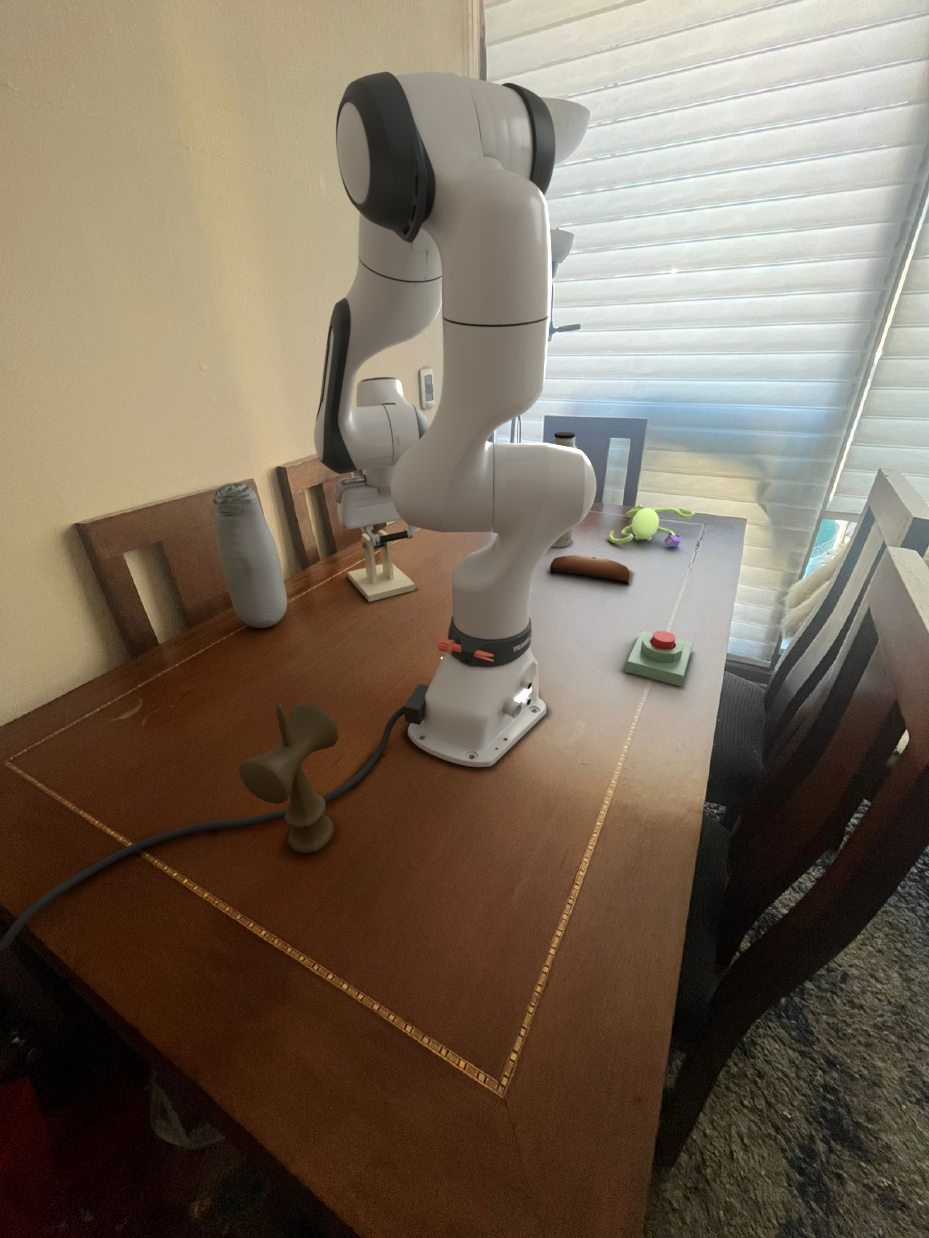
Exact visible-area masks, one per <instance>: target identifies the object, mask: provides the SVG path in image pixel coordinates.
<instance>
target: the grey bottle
mask: <svg viewBox="0 0 929 1238" xmlns="http://www.w3.org/2000/svg"><path fill="white" fill-rule="evenodd" d="M212 504H213V510H214V517H215V524H216V545H217V554H218V558H219V563H220V567H221V570H222V574H223V577H224V581H225V583H226V586H227V590H228V594H229V597H230V600H231V603H232V606H233V609H234V611H235V614H236V615H237V617H238V619H240V621H241V622H243V623H245V624H246V625H248V626H249V627H252V628H255V629H265V628H270V627H273V626H274V625H276V624H277V623H279V622H280V621H281V620H282V619H283V617H284V616H285V614H286V611H287V608H288V598H287V591H286V590H287V589H286V585H285V581H284V580H285V579H284V576H283V571H282V570H283V569H282V565H281V561H280V554H279V550H278V547H277V543H276V540H275V538H274V536H273V533H272V531H271V529H270V527H269V525H268V523H267V521H266V518H265V516H264V512H263V510H262V507H261V504H260V501H259V498H258V496H257V494H256V493H255V491H254V490H253V489H252V488H251V487H250V486H248V485H247V484H244V483H240V482H232V483H227V484H223V485H222V486H220V487H219V488H217V490H216V491H215V493H214V495H213V503H212Z"/></svg>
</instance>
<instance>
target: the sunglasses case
mask: <svg viewBox="0 0 929 1238" xmlns="http://www.w3.org/2000/svg"><path fill="white" fill-rule="evenodd" d="M549 572H550V573H552V572H553V573H554V572H555V573H565V574H579V575H584V576H589V577H597V578H601V579H608V580H614V581H622V582H626V583H627V584H628V585H629V584H630V581H631V577H632V570H631V569H629V568H628V567H627V566H626V565H624V564H622V563H619V562H618V561H615V560H612V559H609V558H608V559H606V558H598V557H594V556H584V555H579V554H578V555H577V554H574V555H573V554H572V555H571V554H570V555H561V556H558V557H557V556H556V557H554V558H553V560H552V561H551V563H550V567H549Z"/></svg>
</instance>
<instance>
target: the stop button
mask: <svg viewBox="0 0 929 1238" xmlns="http://www.w3.org/2000/svg"><path fill="white" fill-rule="evenodd" d="M653 633H654V634H653V638H652V642H651V643H652V645H653V646H654V647H656V648H658V649H662V650H671V649H673V647H674V643H675V639H676V638H677V637H676V636H675V635H674V634H673V633H671V632H670V631H666V630H656V631H654V632H653ZM675 637H676V638H675Z"/></svg>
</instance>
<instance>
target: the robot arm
mask: <svg viewBox="0 0 929 1238" xmlns="http://www.w3.org/2000/svg"><path fill="white" fill-rule="evenodd" d="M335 146H336V156H337V162H338V169H339V173H340V177H341V181H342V184H343V185H342V186H343V187H344V191H345V192H346V195H347V198H348V199H349V201H350V203H351V204H352V205H353V206H354V208H355V209H356V210H357V211H358V212H359V217H358V218H359V219H358V236H357V237H358V238H357V240H358V242H357V248H358V249H357V255H358V256H357V257H358V258H357V268H356V273H355V276H354V279H353V282H352V283H351V286H350V288H349V290H348V292H347V293H346V295H345V296H344V297H343V298H341V299H340V300H339V301H337V302H336V303H335V304H334V305H333V310H332V313H331V316H330V321H329V324H328V325H329V326H328V333H327V339H326V347H325V355H324V362H323V371H322V378H321V379H322V380H321V389H320V396H319V397H320V398H319V405H318V409H317V413H316V418H315V424H314V429H313V444H314V448H315V452H316V455H317V458H318V460H319V462H320V463H321V464H322V465H323V466H325V467H326V468H328V469H329V470H331V471H332V472H335V473H336V474H338V475H345V474H349V473H355V472H358V471H361V470H362V475H356V476H352V477H343V478H341V479H340V481H338V482H337V483H335V485H334V486H333V494H334V499H335V502H336V503H337V505H336V506H337V508H336V509H337V521H338V523H339V525H341V526H342V527H343V528H344V529H345V530H354V529H359V528H362V529H363V530H364V532H365V533H366V534H367V535H368V536H369V537H370V543H371V545H372V546H377V545H380V542H379V541H380V537H379V534H377V533H375V534H374V533H373V532H372V531H374V525H375V526H376V525H380V524H385V523H390V522H395V521H400V520H403V522H404V523H405V524H406V525H407V527H405V528H403V531H406V532H407V538H406V540H409V539H414V538H415V529H416V528H418V529H422V530H427V531H433V532H438V533H493V534H496V535H495V538H493V540H492V541H491V542H490V543H489V544H487V545H486V546H483V547H482V548H479V549H477V550H475V551H473V552H471V553H470V554H468V555H467V556H466V557H464V558H463V559H462V560H461V561H460V562H459V563H458V564H457V565H456V567H455V568H454V571H453V573H452V576H451V589H452V590H451V591H452V616H451V617H450V623H449V626H448V629H447V637H445V636H442V637H440V639H439V640H438V643H437V649H438V651H439V652H443V655H442V656H441V657H440V661H439V663H438V665H437V668H436V670H435V672H434V674H433V676H432V679H431V681H430V683H429V685H426V684H421V683H418V684H417V686H416V688H415V689H414V690H413V692H412V693H411V695H410V697H409V698H408V699H407V701H406V702H405V704H403V705H402V706H401V707H400V708H399V709H397V710H396V711H395V712H394V713H393V714H392V715H391V717H390V718H389V719H388V721H387V723H386V725H385V727H384V730H383V733H382V737H381V740H380V741H379V744H378V746H377V747H376V749H375V750H374V751H373V753H372V755H371V756H370V758H369V759H368V760H367V762H365V764H364V765H363V766H362V768H361V769H360V770H359V771H358V772H357V773H356V774H355V775H353V776H352V777H351V778H350V779H349V780H347V781H346V782H344V783H343V784H341V785H340V786H338V787H336V788H334V790H332V791H329V793H327V794H325V795H322V797H323V799H324V801H325V802H326V804H327V803H329V802H330V801H333V800H334V799H336V798H338V797H339V796H341V795H342V794H344V793H346V792H347V791H348V790H350V789H351V788H353V787H354V786H355V785H357V784H358V783H359V782H360V781H362V780H363V778H364V777H365V776H366V775H367V774H368V773H369V772H370V770H372V768H373V767H374V765H375V764H376V763H377V761H378V760H379V759H380V757H381V755H382V754H383V752H384V751H385V749H386V747H387V745H388V742H389V739H390V736H391V733H392V730H393V728H394V726H395V724H396V722H397V721H399V719H400V718H401V717H404V722H406V723H409V725H408V728H407V736H408V738H409V739H410V740H411V742H412V743H413V744H414V745H416V746H417V747H418V748H419V749H421V750H423V751H424V752H426V753H428V754H430V755H432V756H435V757H436V758H438V759H441V760H443V761H447V762H449V763H452V764H456V765H459V766H464V767H471V768H472V767H473V768H488V767H492V766H493V765H495V764H496V763H497V762H498V761H499V760H500V759H501V758H502V757H504V755H505V754H506V753H508V751H509V750H510V749H511V748H512V747H514V745H516V744H517V742H518V741H519V740H520V739H521V738H523V737H524V736H525V735H526V734H527V733H528V732H529V731H530V730H531V729H532V728H533V727H534V726H535V725H536V724H537V723H538V722H539V721H540V720H541V719H542V718H543V717H544V716H545V715H546V713H547V705H546V703H545V702H544V701H543V700H542V699H541V697H539V693H540V692H539V663H538V661H537V659H536V657H535V656H534V654H533V652H532V649H531V648H530V646H531V643H532V636H533V626H532V619H531V617H530V608H531V599H532V592H533V585H534V579H535V576H536V573H537V570H538V567H539V566H540V563H541V561H542V560H543V558H544V556H545V555H546V554H547V552H548V551H549V550H550V548H552V547H551V546H552V545H553V544H554V543H555V542H556V541H557V540H558V539H559V538H560V537H561V536H562V535H564V534H565V533H566V532H567V531H569V530H570V529H572V530H573V528H575V527H577V526H578V525H580V523H582V522H583V521H584V519H585V518H586V517H587V516H588V514H589V513H590V511H591V509H592V507H593V504H594V502H595V499H596V493H597V478H596V472H595V469H594V467H593V465H592V463H591V461H590V459H589V458H588V456H587V455H586V454H585V453H584V452H583V450H581V449H578V448H577V449H574V448H570V447H565V446H561V445H555V444H554V443H549V442H499V443H498V442H497V443H496V442H494V443H493V442H491V441H488V440H489V438H490V437H491V436H492V434H493V433H494V432H495V431H496V430H497V429H499V428H500V427H501V426H503V425H505V424H506V423H509V422H510V421H512V420H515V419H516V418H518V417H520V416H521V415H523V414H525V413H526V412H527V411H528V410H530V409H531V408H532V407H533V406H534V404H535V403H536V402H537V401H538V399H539V398H540V396H541V395H542V392H543V389H544V387H545V382H546V381H545V380H546V370H547V369H546V368H547V355H548V344H549V343H548V342H549V331H550V318H551V315H550V314H551V303H552V301H551V299H552V247H551V246H552V245H551V232H550V231H551V230H550V221H549V219H550V218H549V210H548V203H547V200H546V198H545V196H546V194H547V191H548V189H549V187H550V184H551V180H552V177H553V173H554V168H555V160H556V131H555V126H554V121H553V118H552V115H551V112H550V109H549V107H548V105H547V104H546V102H545V101H544V99H543V98H541V97H540V96H539V94H536V93H535V92H533V91H532V90H530V89H528V88H526V87H523V86H522V85H519V84H516V83H513V82H505V83H502V84H499V83H495V82H491V81H487V80H484V79H478V78H474V77H473V78H472V77H467V76H459V75H458V74H457V73H454V72H439V71H436V72H434V71H431V72H429V71H428V72H413V73H403V74H397V75H394V74H393V73H391V72H389V71H380V72H376V73H370V74H367V75H364V76H361V77H358V78H357V79H355V80H353V81H351V82H350V83H349V84H348V85H347V87H345V90H344V92H343V95H342V97H341V100H340V103H339V105H338V108H337V113H336V121H335ZM440 311H441V318H442V381H441V391H440V398H439V402H438V406H437V409H436V411H435V415H434V416H433V418H432V421H431V423H430V425H429V423H428V422H429V421H428V417H427V416H426V415H425V414H424V413H423V411H421V410H420V409H419V408H418V407H417V406H416V405H414V404H410V403H409V402H408V401H407V400H406V398H405V395H404V391H403V386H402V382H401V380H400V379H398V378H395V377H393V376H392V377H391V376H379V377H371V378H365V379H362V380H360V381H358V383H357V384H356V378H357V375H358V372H359V369H361V367H362V365H364V363H366V362H367V361H368V360H369V359H371V358H372V357H374V356H376V355H377V354H379V353H381V352H383V351H385V350H388V349H390V348H392V347H394V346H397V345H399V344H403V343H406V342H408V341H411V340H413V339H414V338H416V337H418V336H419V335H420V334H422V333H424V331H426V330H427V329H428V328H429V327H430V326H431V325H432V324H433V322H435V320H436V319H437V317H438V316H439V314H440V313H439V312H440ZM355 386H356V393H355V394H356V396H355V397H356V398H355V399H356V400H355V401H356V402H355V404H356V406H352V403H353V397H354V392H355ZM286 810H287V808H284V809H281V810H276V811H272V812H268V813H264V814H260V815H255V816H249V817H243V818H234V819H233V818H232V819H223V820H213V821H205V822H200V823H199V822H198V823H195V824H191V825H190V824H189V825H186V826H182V827H179V828H175V829H173V830H169V831H166V832H162V833H158V834H157V835H154V836H151V837H148V838H144V839H143V840H140V841H138V842H135V843H133V844H130V845H127V846H126V847H123V848H122V849H120V850H118V851H116V852H114V853H112V854H110V855H108V856H106V857H105V858H103V859H101V860H99V861H98V862H95V863H94V864H92V865H91V866H89V867H87V868H85V869H84V870H82V871H80V872H79V873H76V874H74V875H73V876H71V877H70V878H68V879H66V880H65V881H63V882H62V883H60V884H59V885H57V886H55V887H54V888H52V889H51V890H49V891H48V892H46V893H45V894H43V896H41V897H39V898H38V899H37V900H36V901H35V902H33V903H32V904H31V905H30V906H29V907H27V909H26V910H25V911H24V912H23V913H22V914H21V915H19V917H18V918H17V919H16V920H15V922H14V923H13V924H12V925H11V926H10V928H9V929H8V930H7V931H6V933H5V935H4V936H3V937H2V939H1V941H0V951H4V950H6V949H8V948H9V947H10V946H11V945H12V944H13V942H14V940H15V939H16V937H17V936H18V934H19V933H20V931H21V930H22V929H24V927H25V925H27V923H28V922H29V921H30V920H31V919H32V918H33V917H34V916H35V915H36V914H37V913H39V912H40V911H41V910H42V909H43V908H44V907H45V906H47V905H48V904H49V903H50V902H52V901H53V900H54V899H56V898H57V897H59V896H60V895H62V894H63V893H65V892H66V891H68V890H69V889H71V888H73V887H74V886H77V885H78V884H79V883H81V882H83V881H84V880H86V879H88V878H90V877H91V876H93V875H94V874H97V873H98V872H100V871H101V870H103V869H104V868H106V867H108V866H111V865H112V864H113V863H115V862H117V861H119V860H121V859H123V858H125V857H127V856H129V855H131V854H133V853H136V852H138V851H142V850H143V849H146V848H148V847H151V846H155V845H156V844H160V843H163V842H166V841H169V840H172V839H175V838H179V837H183V836H186V835H189V834H194V833H199V832H205V831H211V830H212V831H213V830H220V829H221V830H223V829H234V828H241V827H247V826H248V827H249V826H254V825H258V824H264V823H266V822H267V823H268V822H271V821H275V820H279V819H284V818H285V812H286Z"/></svg>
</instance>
